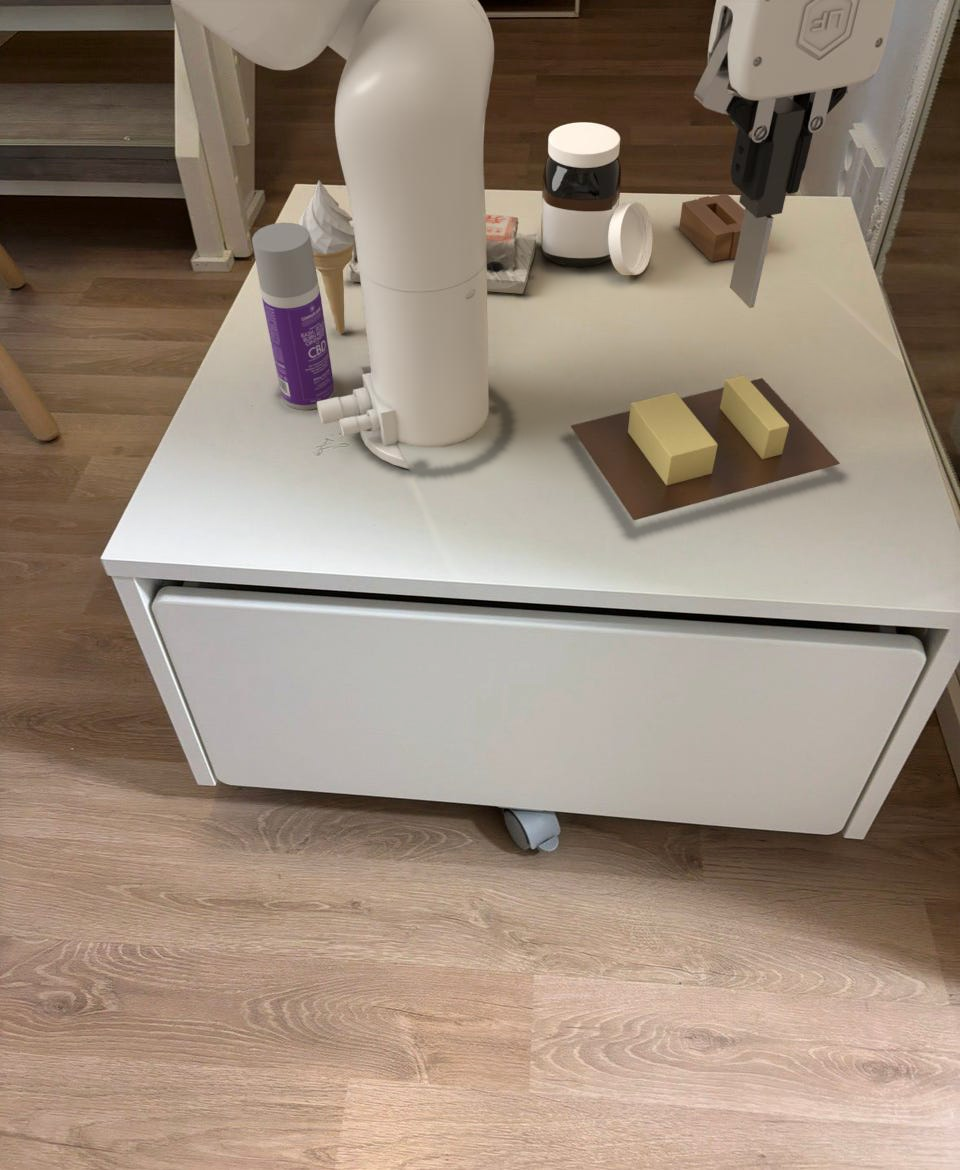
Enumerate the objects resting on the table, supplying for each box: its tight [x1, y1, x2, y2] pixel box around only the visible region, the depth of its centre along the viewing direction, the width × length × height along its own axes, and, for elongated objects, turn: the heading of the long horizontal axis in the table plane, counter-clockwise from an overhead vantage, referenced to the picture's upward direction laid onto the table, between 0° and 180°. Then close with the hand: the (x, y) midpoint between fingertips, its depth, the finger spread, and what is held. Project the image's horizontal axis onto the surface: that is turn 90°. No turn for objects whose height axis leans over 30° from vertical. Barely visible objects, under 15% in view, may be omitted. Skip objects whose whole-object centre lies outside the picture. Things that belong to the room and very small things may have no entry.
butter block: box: [628, 391, 718, 485], centre depth 81 cm, size 4×7×3 cm, turn 20°
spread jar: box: [540, 121, 654, 276], centre depth 101 cm, size 12×11×12 cm
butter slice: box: [720, 374, 789, 459], centre depth 82 cm, size 2×7×3 cm, turn 20°
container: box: [251, 222, 336, 411], centre depth 85 cm, size 5×5×15 cm
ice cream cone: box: [296, 179, 356, 335], centre depth 91 cm, size 6×6×15 cm
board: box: [570, 377, 841, 521], centre depth 83 cm, size 18×12×2 cm, turn 110°
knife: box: [729, 96, 805, 309], centre depth 70 cm, size 2×3×14 cm, turn 19°
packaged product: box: [346, 213, 538, 295], centre depth 103 cm, size 18×5×10 cm
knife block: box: [678, 193, 745, 263], centre depth 106 cm, size 5×8×3 cm
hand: (764, 185), depth 69 cm, fingers closed on knife, 2 cm apart
